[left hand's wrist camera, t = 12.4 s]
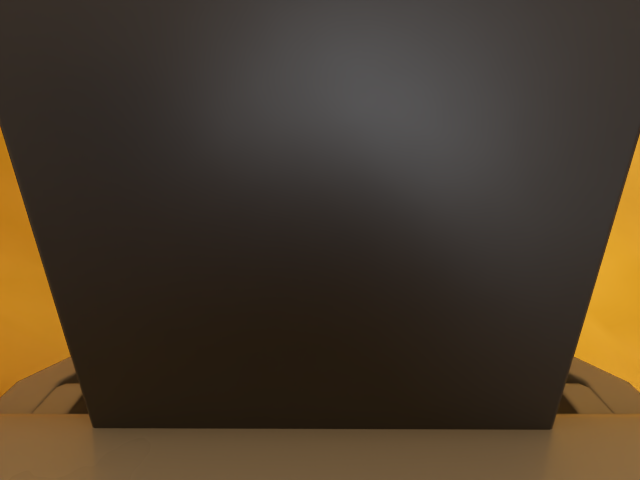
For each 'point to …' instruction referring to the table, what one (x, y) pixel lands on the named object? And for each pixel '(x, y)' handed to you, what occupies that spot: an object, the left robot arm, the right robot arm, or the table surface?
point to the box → (321, 201)
